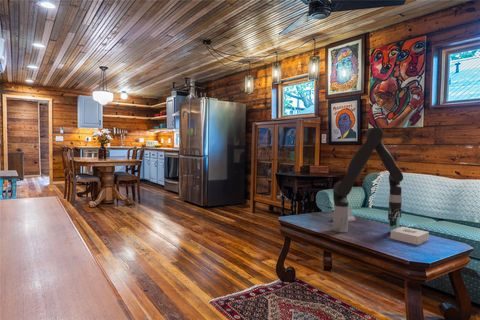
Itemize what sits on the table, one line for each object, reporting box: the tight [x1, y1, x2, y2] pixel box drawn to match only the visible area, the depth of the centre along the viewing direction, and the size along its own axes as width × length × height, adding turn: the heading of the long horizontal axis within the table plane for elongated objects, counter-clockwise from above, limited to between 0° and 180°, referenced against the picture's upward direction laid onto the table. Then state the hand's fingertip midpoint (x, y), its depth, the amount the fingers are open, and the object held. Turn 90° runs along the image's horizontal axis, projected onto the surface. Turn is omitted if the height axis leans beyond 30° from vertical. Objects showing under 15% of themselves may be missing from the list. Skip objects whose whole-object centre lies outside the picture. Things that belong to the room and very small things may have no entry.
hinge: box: [348, 208, 356, 222], centre depth 241 cm, size 17×5×10 cm, turn 121°
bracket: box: [388, 216, 401, 233], centre depth 209 cm, size 4×5×11 cm
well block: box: [390, 226, 430, 246], centre depth 194 cm, size 16×16×5 cm
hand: (394, 225), depth 209 cm, fingers open, 8 cm apart
